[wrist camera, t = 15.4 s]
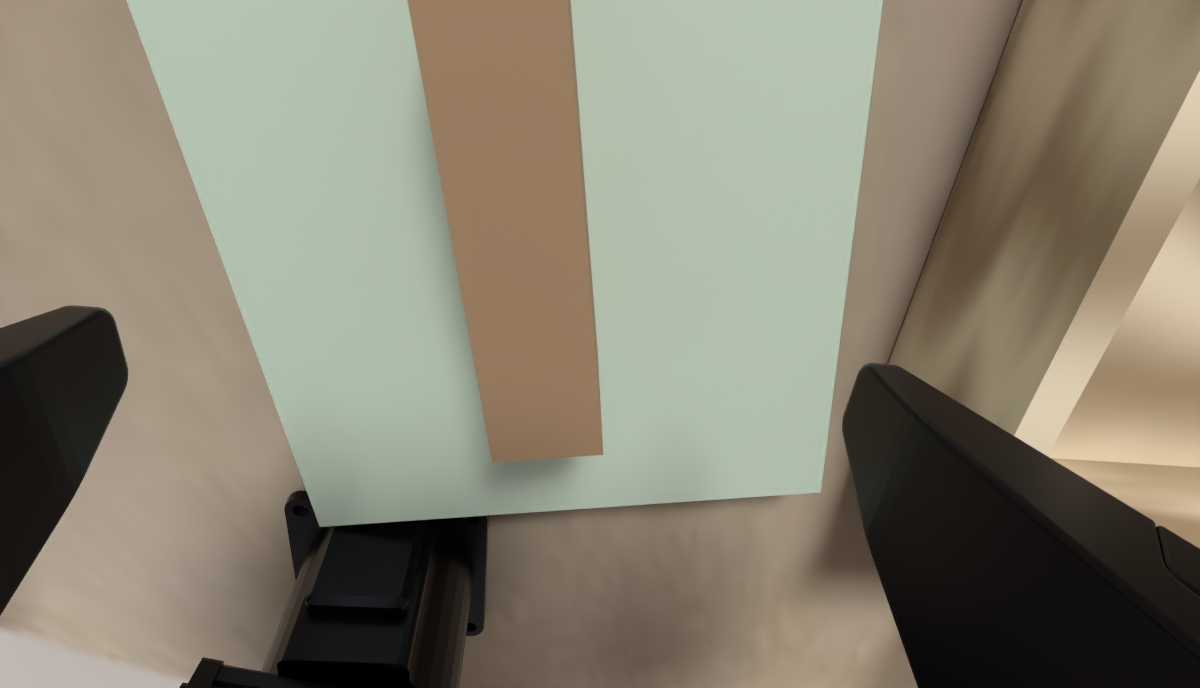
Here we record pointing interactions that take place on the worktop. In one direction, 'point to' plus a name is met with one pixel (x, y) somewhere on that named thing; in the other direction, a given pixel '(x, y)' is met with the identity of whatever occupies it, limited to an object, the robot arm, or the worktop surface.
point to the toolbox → (1080, 253)
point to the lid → (531, 238)
